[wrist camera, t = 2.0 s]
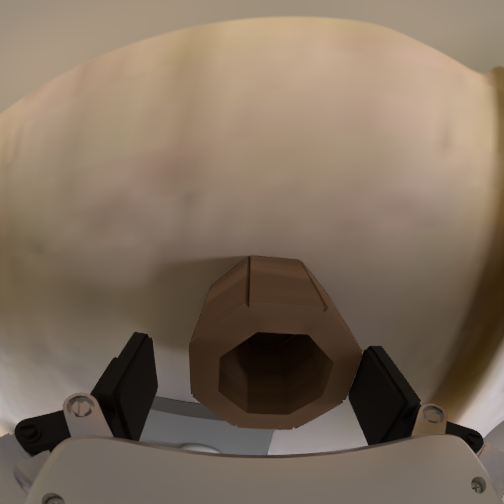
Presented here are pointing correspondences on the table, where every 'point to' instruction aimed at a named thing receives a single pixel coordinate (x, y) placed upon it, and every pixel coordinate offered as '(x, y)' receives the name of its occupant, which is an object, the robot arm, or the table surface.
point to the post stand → (200, 430)
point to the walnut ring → (271, 347)
